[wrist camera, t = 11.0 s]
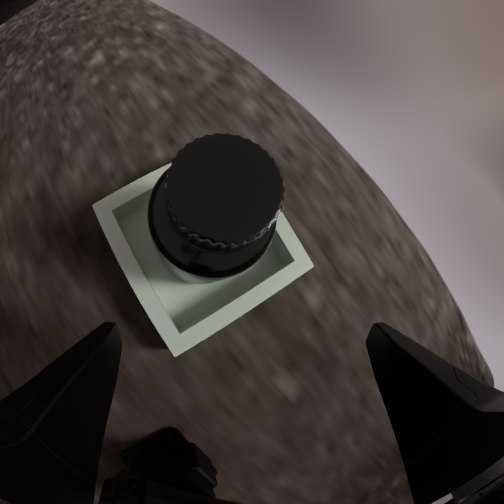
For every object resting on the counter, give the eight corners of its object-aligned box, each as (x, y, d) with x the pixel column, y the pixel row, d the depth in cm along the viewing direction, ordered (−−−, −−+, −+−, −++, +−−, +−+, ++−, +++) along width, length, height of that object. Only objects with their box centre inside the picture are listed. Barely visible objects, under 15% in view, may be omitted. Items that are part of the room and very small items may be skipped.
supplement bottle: (142, 261, 20) (101, 218, 9) (181, 188, 22) (192, 90, 10) (220, 300, 21) (271, 302, 10) (254, 225, 23) (326, 159, 12)
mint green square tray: (175, 349, 20) (175, 357, 17) (101, 216, 20) (91, 205, 17) (298, 270, 24) (314, 266, 21) (226, 152, 24) (232, 136, 21)
